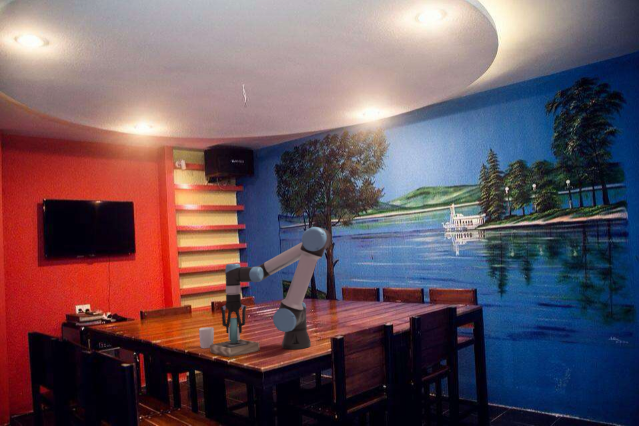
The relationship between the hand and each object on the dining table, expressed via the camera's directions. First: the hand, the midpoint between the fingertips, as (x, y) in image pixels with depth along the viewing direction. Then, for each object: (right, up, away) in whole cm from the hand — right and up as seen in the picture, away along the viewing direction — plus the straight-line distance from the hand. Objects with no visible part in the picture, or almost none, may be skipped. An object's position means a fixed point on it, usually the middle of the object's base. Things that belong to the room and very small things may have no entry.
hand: (234, 339), depth 240 cm
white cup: (-17, -8, +14) cm, 24 cm away
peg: (0, -1, 0) cm, 1 cm away
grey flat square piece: (0, -6, 0) cm, 6 cm away
